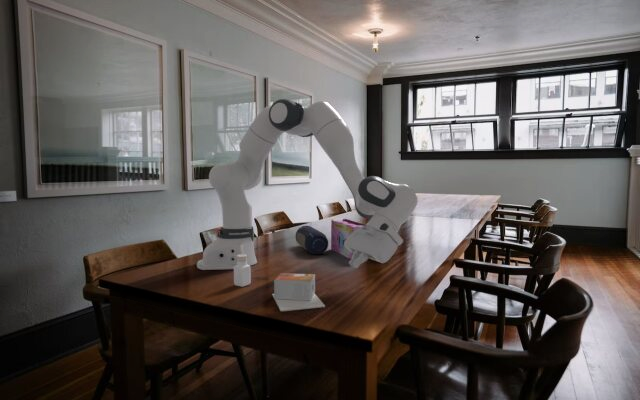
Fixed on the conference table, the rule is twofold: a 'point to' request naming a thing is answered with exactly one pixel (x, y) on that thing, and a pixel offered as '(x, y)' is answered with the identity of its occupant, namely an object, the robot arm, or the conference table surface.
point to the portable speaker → (312, 240)
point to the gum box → (343, 235)
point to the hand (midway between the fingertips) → (352, 266)
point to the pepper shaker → (242, 271)
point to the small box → (294, 286)
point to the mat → (298, 304)
